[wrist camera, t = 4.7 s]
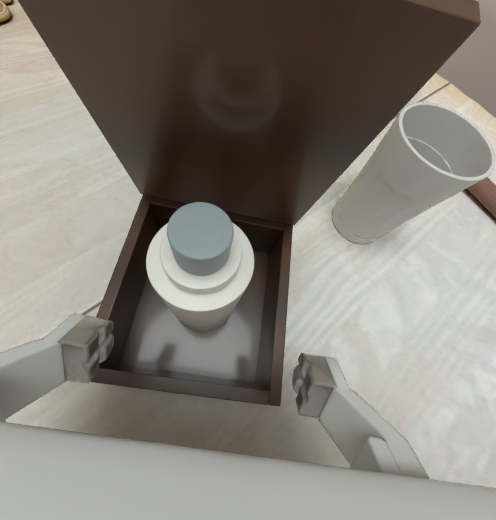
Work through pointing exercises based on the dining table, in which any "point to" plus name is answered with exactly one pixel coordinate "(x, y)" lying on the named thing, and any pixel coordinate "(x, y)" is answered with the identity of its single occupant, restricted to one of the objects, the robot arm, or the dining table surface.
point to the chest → (191, 342)
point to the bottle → (200, 265)
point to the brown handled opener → (485, 194)
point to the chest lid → (247, 87)
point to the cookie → (4, 10)
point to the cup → (413, 171)
